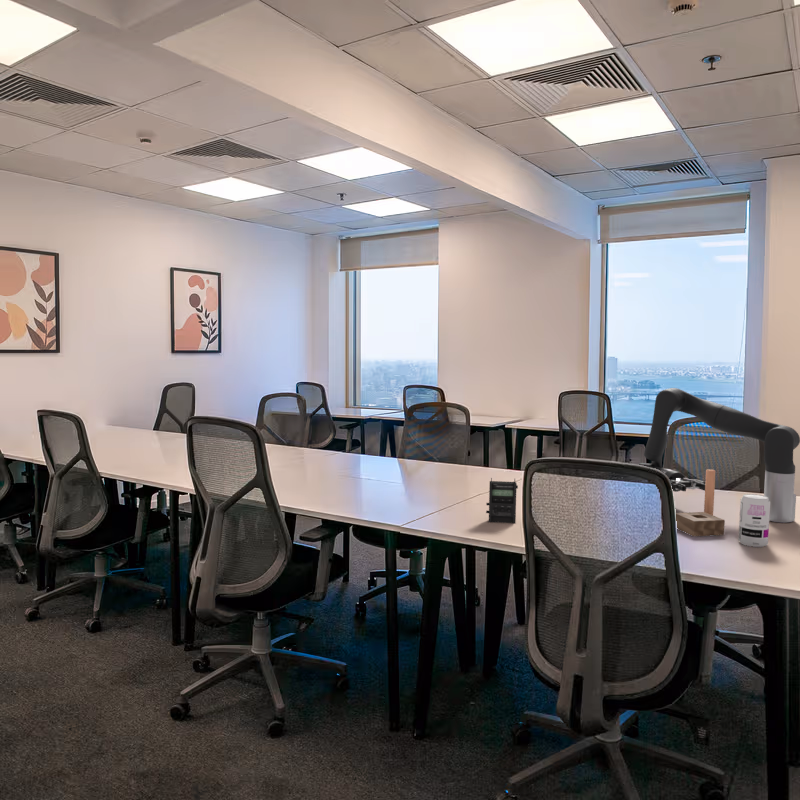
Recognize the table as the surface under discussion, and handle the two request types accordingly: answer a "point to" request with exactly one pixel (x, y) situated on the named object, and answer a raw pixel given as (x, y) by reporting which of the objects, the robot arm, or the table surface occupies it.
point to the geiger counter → (502, 501)
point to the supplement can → (754, 520)
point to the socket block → (700, 524)
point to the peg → (709, 492)
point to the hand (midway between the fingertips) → (696, 488)
